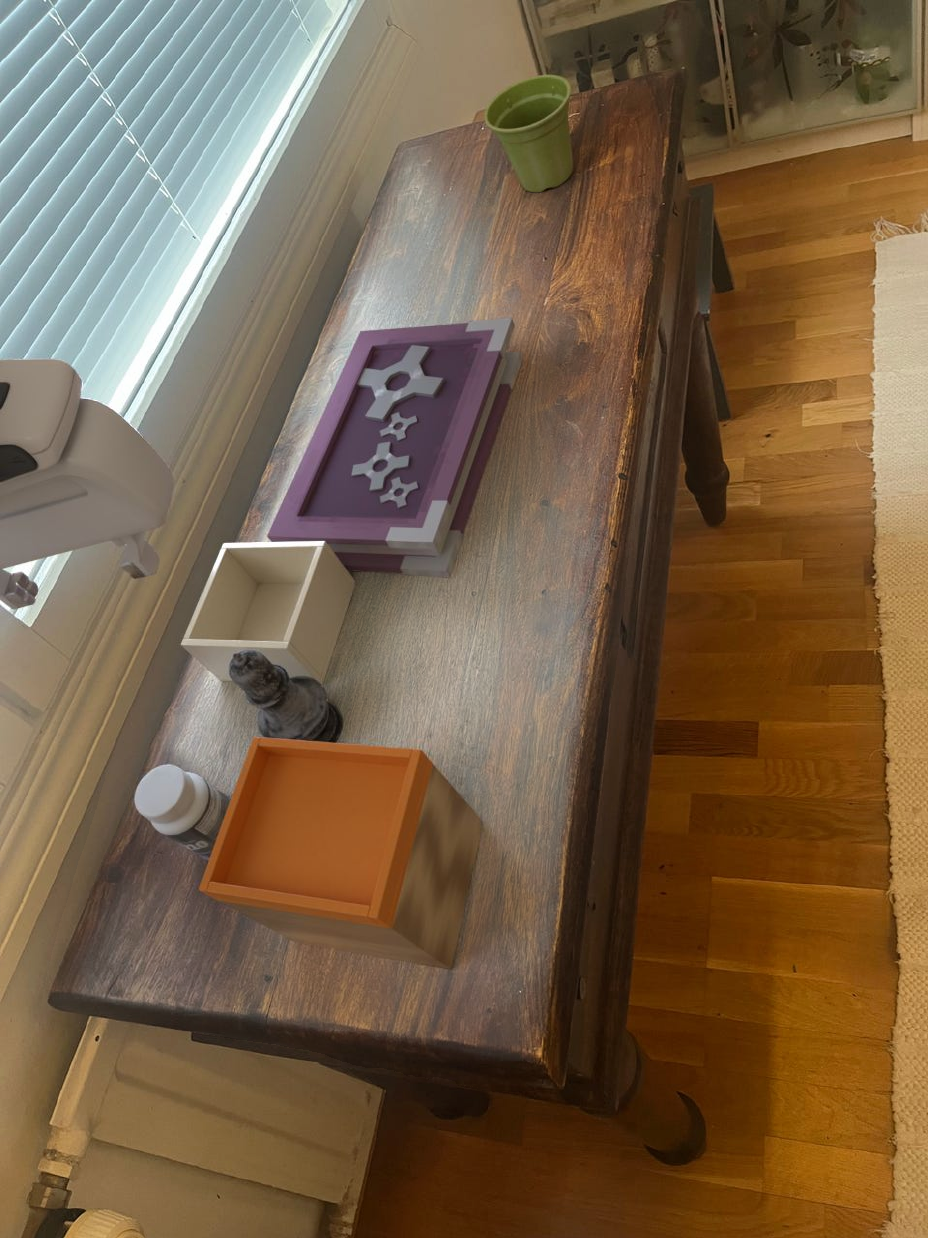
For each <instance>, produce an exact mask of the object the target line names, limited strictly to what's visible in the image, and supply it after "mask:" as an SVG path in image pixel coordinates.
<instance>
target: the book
mask: <svg viewBox="0 0 928 1238" xmlns="http://www.w3.org/2000/svg"><path fill="white" fill-rule="evenodd" d="M515 327H516V325H515V322H514V319H513V317H505V318H504V317H503V318H491V319H490V318H489V319H478V320H469V321H468V322H462V323H461V322H460V323H449V324H448V323H447V324H437V325H436V324H435V325H422V326H408V327H396V328H395V327H394V328H384V329H383V328H382V329H381V328H380V329H371V330H370V329H369V330H360V331H359V333H358V335H357V337H356V340H355V342H354V344H353V346H352V348H351V351H350V352H349V354H348V357H347V359H346V362H345V363H344V367H343V368H342V370H341V373H340V375H339V377H338V379H337V381H336V384H335V386H334V387H333V390H332V392H331V394H330V397H329V398H328V401H327V403H326V406H325V407H324V410H323V411H322V413H321V416H320V419H319V420H318V423H317V425H316V427H315V430H314V432H313V433H312V436H311V438H310V441H309V443H308V445H307V447H306V449H305V451H304V453H303V456H302V458H301V460H300V463H299V464H298V467H297V469H296V471H295V474H294V476H293V477H292V480H291V482H290V484H289V487H288V489H287V491H286V493H285V495H284V497H283V499H282V502H281V504H280V506H279V508H278V511H277V513H276V515H275V517H274V519H273V522H272V523H271V526H270V527H269V530H268V532H267V535H266V537H267V539H269V542H299V541H326V542H327V544H328V545H329V547H330V548H331V549H332V551H333V552H334V553H335V555H336V556H337V557H338V559H339V560H340V561H341V563H342V564H343V565H344V567H345V568H346V569H347V571H348V572H364V573H383V574H386V573H387V574H403V576H414V577H431V578H432V577H434V578H451V575H452V572H453V569H454V566H455V563H456V560H457V558H458V554H459V552H460V548H461V545H462V543H463V539H464V531H465V530H466V526H467V524H468V520H469V517H470V515H471V511H472V508H473V506H474V503H475V500H476V497H477V494H478V491H479V487H480V484H481V481H482V479H483V476H484V472H485V470H486V467H487V464H488V462H489V458H490V455H491V453H492V449H493V446H494V443H495V440H496V438H497V434H498V431H499V428H500V425H501V422H502V419H503V416H504V413H505V410H506V408H507V405H508V401H509V399H510V396H511V393H512V392H513V390H514V387H515V384H516V381H517V378H518V375H519V374H520V373H519V372H520V370H521V368H522V367H521V366H522V363H523V361H524V358H523V356H522V352H521V351H511V352H510V351H507V350H508V348H509V345H510V341H511V338H512V335H513V333H514V330H515Z"/></svg>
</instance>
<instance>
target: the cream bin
mask: <svg viewBox="0 0 928 1238" xmlns="http://www.w3.org/2000/svg"><path fill="white" fill-rule="evenodd" d="M356 584H357V581H356V580H355V579H354V577H353V576H352V574H351V573H350V571H347V569H346V568H345V567H344V565H343V564H342V563H341V561H340V560H339V559H338V557H337V556H336V555H335V553H334V552H333V551H332V549H331V548H330V547H329V545H328V544H327V542H326V541H299V542H271V541H260V542H259V541H258V542H257V541H255V542H223V543H222V546H221V548H220V549H219V553H218V555H217V557H216V560H215V562H214V564H213V567H212V570H211V572H210V574H209V577H208V579H207V581H206V583H205V586H204V588H203V591H202V593H201V595H200V598H199V601H198V602H197V604H196V607H195V609H194V612H193V614H192V617H191V619H190V620H189V624H188V626H187V628H186V631H185V634H184V636H183V639H182V641H181V643H180V646H181V647H182V648H183V649H184V650H185V651H186V652H188V653H189V654H190V655H191V656H192V657H193V659H195V660H196V661H198V663H200V664H201V665H202V666H203V667H204V668H205V669H207V670H208V672H210V673H211V674H212V675H213V676H214V677H216V678H217V679H218V681H219V682H220V681H221V682H233V680H232V679H231V677H230V675H229V665H230V662H231V660H232V658H233V654H235V653H239V652H241V651H243V650H247V649H254V650H257V651H259V652H261V653H262V654H263V655H264V656H265V657H266V658H267V659H268V660H269V661H270V662H271V663H272V664H273V665H279V666H282V667H283V668H284V669H285V670H286V671H287V672H288V675H289V678H291V677H295V676H308V677H311V678H314V679H315V680H317V681H318V682H320V684H321V685H322V686H323V684H324V682H325V679H326V676H327V673H328V670H329V667H330V663H331V660H332V657H333V654H334V651H335V648H336V645H337V642H338V639H339V636H340V633H341V629H342V626H343V625H344V621H345V618H346V615H347V612H348V608H349V606H350V602H351V599H352V596H353V593H354V590H355V587H356Z"/></svg>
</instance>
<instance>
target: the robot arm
mask: <svg viewBox="0 0 928 1238" xmlns="http://www.w3.org/2000/svg"><path fill="white" fill-rule="evenodd" d="M83 384H84V383H83V379H82V377H81V375H80V374H79V372H78V371H77V370H76V369H75V368H74V367H73V366H72V365H71V364H70V363H68V362H67V361H66V360H62V359H59V358H52V357H51V358H49V357H48V358H0V601H1V602H2V603H4V605H6V606H7V607H8V608H10V609H12V610H18V609H21V608H27V607H30V606H33V605H35V603H36V600H37V599H36V597H37V596H38V594H39V586H38V584H37V582H35V581H34V580H32V579H30V578H29V576H28V575H27V574H26V573H24V572H23V571H17V572H14V573H11V572H10V571H7V570H5V569H8V568H11V567H15V566H19V565H22V564H26V563H29V562H34V561H38V560H42V559H45V558H50V557H54V556H57V555H60V554H63V553H64V554H65V553H69V552H72V551H76V550H79V549H80V550H81V549H83V548H88V547H91V546H95V545H100V544H102V543H107V542H109V541H111V542H112V543H113V544H114V545H115V546H116V547H118V548H120V547H123V551H122V553H123V556H122V557H121V559H120V564H119V567H120V568H121V569H122V570H123V571H124V572H125V573H128V574H130V576H129V577H131V578H132V579H134V580H137V579H142V578H146V577H147V578H148V577H151V576H155V575H156V574H157V573H158V570H159V566H160V565H159V564H160V556H159V553H158V552H157V550H156V549H154V547H152V545H151V544H150V543H149V542H148V541H147V537H146V532H148V531H152V530H157V529H159V528H161V527H163V526H164V525H165V524H166V522H167V520H168V517H169V512H170V510H171V506H172V502H173V498H174V491H175V477H174V476H175V475H174V473H173V471H172V469H171V468H170V466H169V465H168V463H167V462H166V460H164V459H163V457H162V456H161V455H160V454H159V453H158V451H157V450H156V449H155V448H154V447H153V445H151V444H150V443H149V442H148V440H147V439H146V438H145V437H144V436H143V435H142V434H141V433H140V432H139V431H138V430H137V429H136V428H135V427H134V426H133V425H132V424H131V423H130V422H129V421H127V419H126V418H124V416H123V415H121V414H120V412H117V410H115V409H113V408H112V407H110V406H109V405H107V404H106V403H103V402H101V401H99V400H96V399H93V398H88V397H82V391H83V386H84V385H83Z"/></svg>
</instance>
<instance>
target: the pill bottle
mask: <svg viewBox="0 0 928 1238" xmlns="http://www.w3.org/2000/svg"><path fill="white" fill-rule="evenodd" d="M230 801H231V798H230V797H229V796H228V795H227V794H225V793H223V792H222V791H220V790H219V789H218V788H217V787H215V786H213V785H212V784H211V783H210V782H208V781H207V780H206V779H205V778H204V777H202V776H200V775H198V774H196V773H194V772H189V771H184V770H183V769H182V768H180V767H178V766H176V765H174V764H169V763H168V764H162V765H159V766H155V767H154V768H153V769H151V770H149V771H148V772H147V773H146V774H145V775H144V776H143V777H142V779H141V780H140V781H139V783H138V785H137V787H136V790H135V792H134V806H135V808H136V811H138V813H139V814H140V815H141V816H143V817H144V818H146V820H147V821H150V824H151V825H152V827H153V828H154V829H155V831H157V832H159V833H160V834H161V835H163V836H165V837H167V839H170V840H171V841H173V842H175V843H177V844H178V845H180V846H182V847H183V848H185V849H186V850H188V851H190V852H192V853H193V854H195V855H196V856H198V857H200V858H201V859H204V860H207V861H209V859H210V856H211V854H212V851H213V848H214V845H215V842H216V840H217V837H218V834H219V831H220V828H221V826H222V823H223V820H224V817H225V815H226V812H227V809H228V806H229V803H230Z"/></svg>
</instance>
